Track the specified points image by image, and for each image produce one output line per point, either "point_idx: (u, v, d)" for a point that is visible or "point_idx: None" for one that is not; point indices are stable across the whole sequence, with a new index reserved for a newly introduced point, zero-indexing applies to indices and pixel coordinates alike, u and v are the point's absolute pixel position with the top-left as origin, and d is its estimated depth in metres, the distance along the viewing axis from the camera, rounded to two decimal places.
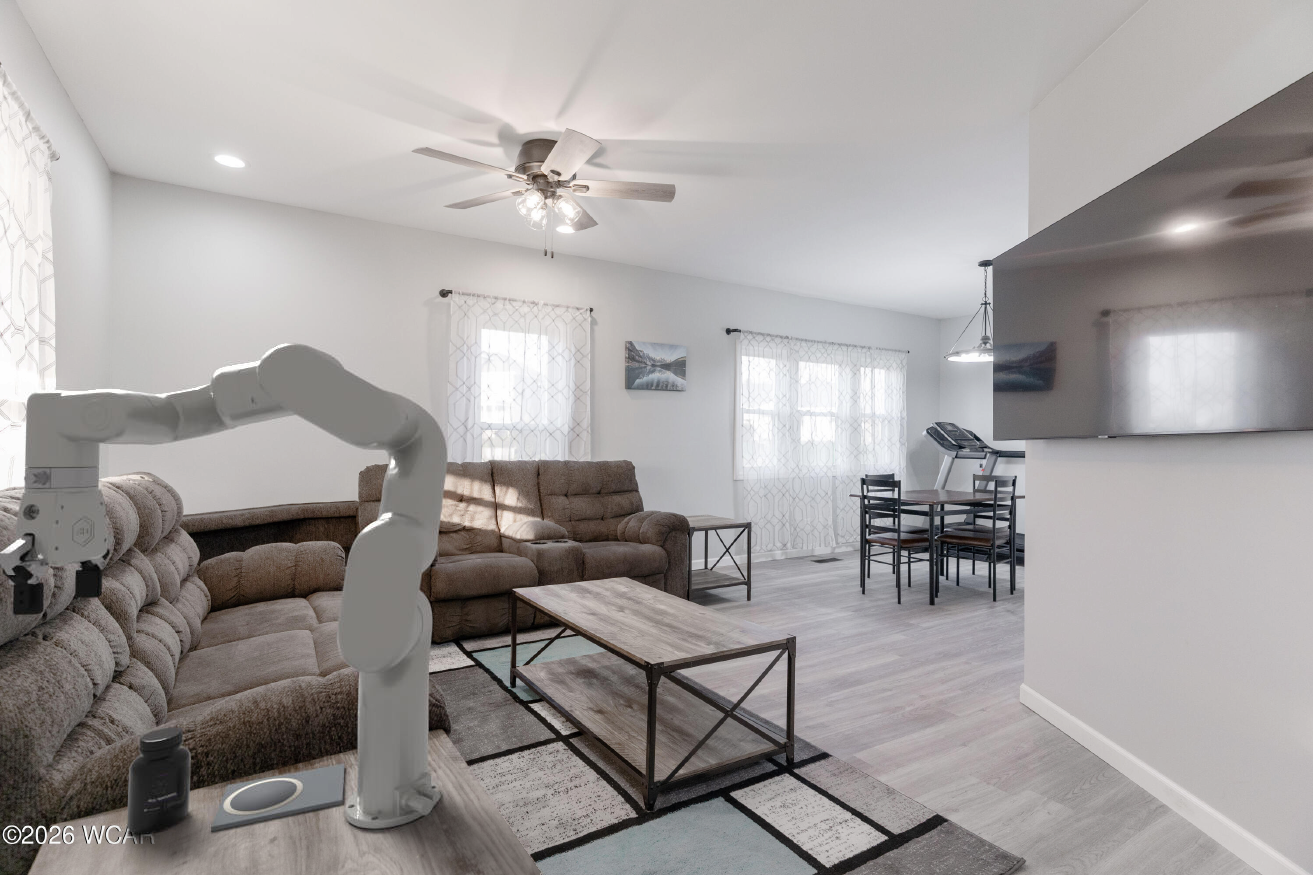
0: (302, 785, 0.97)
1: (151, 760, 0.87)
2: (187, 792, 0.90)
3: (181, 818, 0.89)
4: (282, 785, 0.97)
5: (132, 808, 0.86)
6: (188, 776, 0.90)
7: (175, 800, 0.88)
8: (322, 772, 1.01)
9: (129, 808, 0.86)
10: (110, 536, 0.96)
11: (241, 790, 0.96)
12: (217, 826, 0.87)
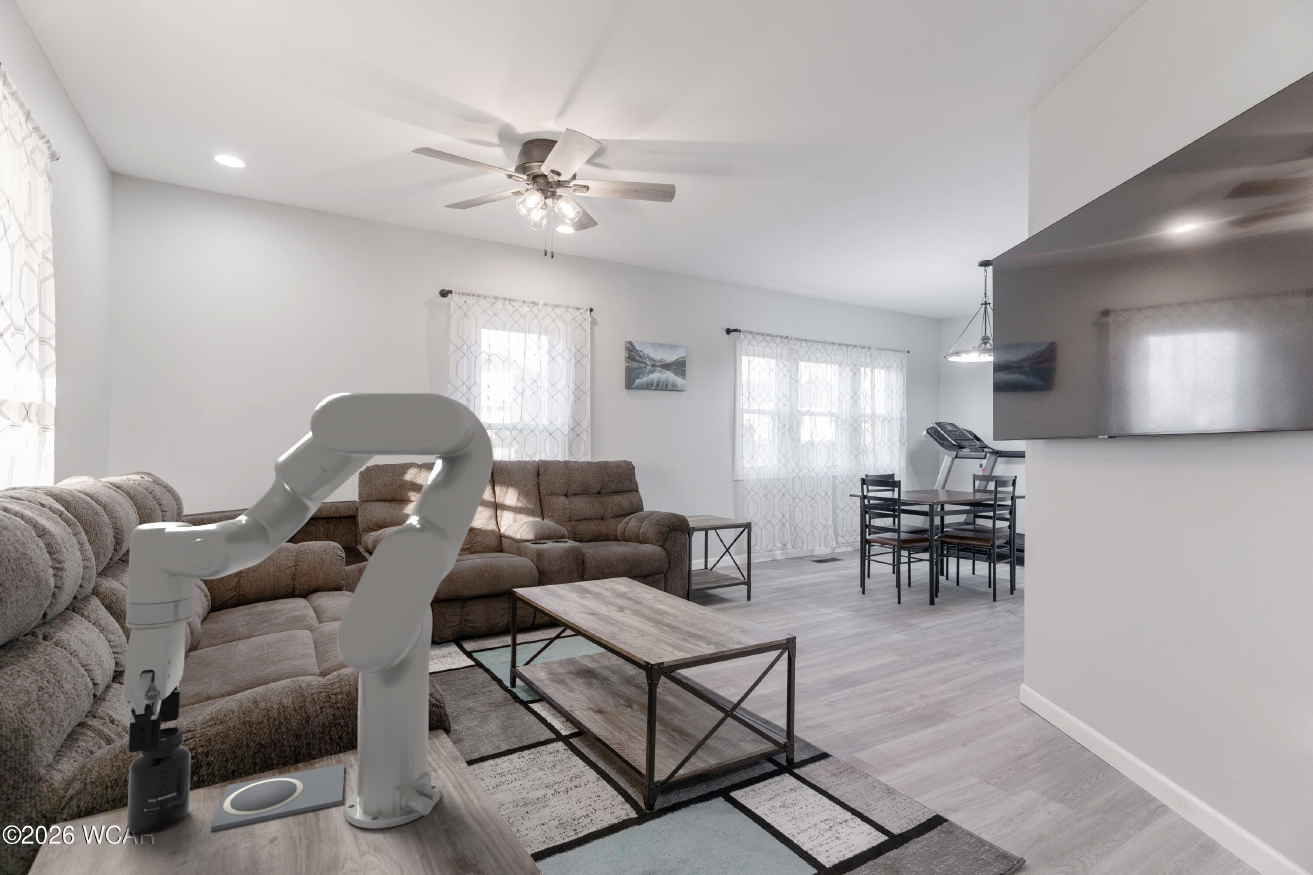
0: (302, 785, 0.97)
1: (151, 760, 0.87)
2: (187, 792, 0.90)
3: (181, 818, 0.89)
4: (282, 785, 0.97)
5: (132, 808, 0.86)
6: (188, 776, 0.90)
7: (175, 800, 0.88)
8: (322, 772, 1.01)
9: (129, 808, 0.86)
10: (134, 694, 0.82)
11: (241, 790, 0.96)
12: (217, 826, 0.87)
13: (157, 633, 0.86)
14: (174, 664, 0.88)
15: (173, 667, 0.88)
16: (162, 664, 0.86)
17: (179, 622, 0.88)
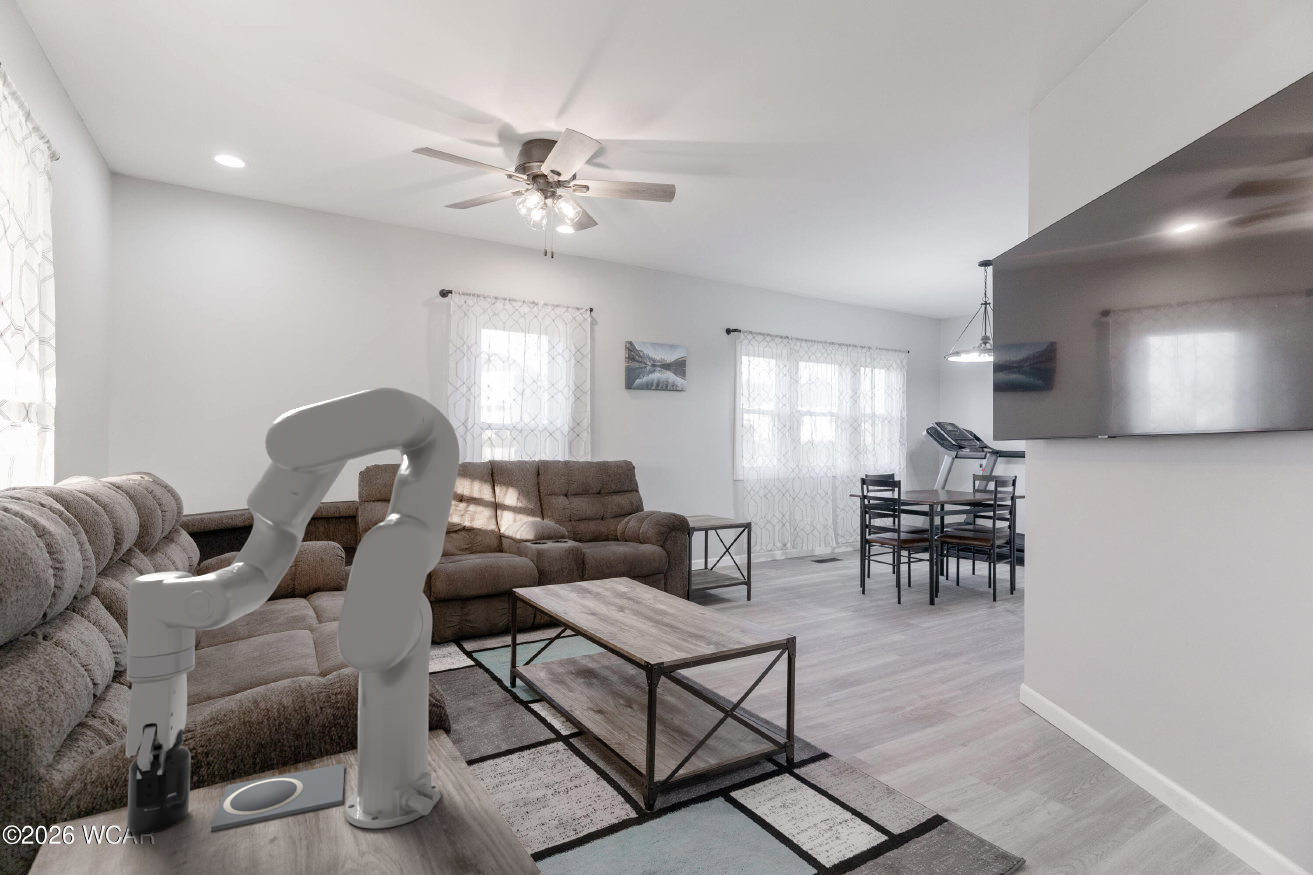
0: (302, 785, 0.97)
1: None
2: (187, 792, 0.90)
3: (181, 818, 0.89)
4: (282, 785, 0.97)
5: (132, 808, 0.86)
6: (188, 776, 0.90)
7: (175, 800, 0.88)
8: (322, 772, 1.01)
9: (129, 808, 0.86)
10: None
11: (241, 790, 0.96)
12: (217, 826, 0.87)
13: (158, 686, 0.86)
14: (176, 715, 0.88)
15: (175, 718, 0.88)
16: (164, 717, 0.86)
17: (180, 673, 0.88)
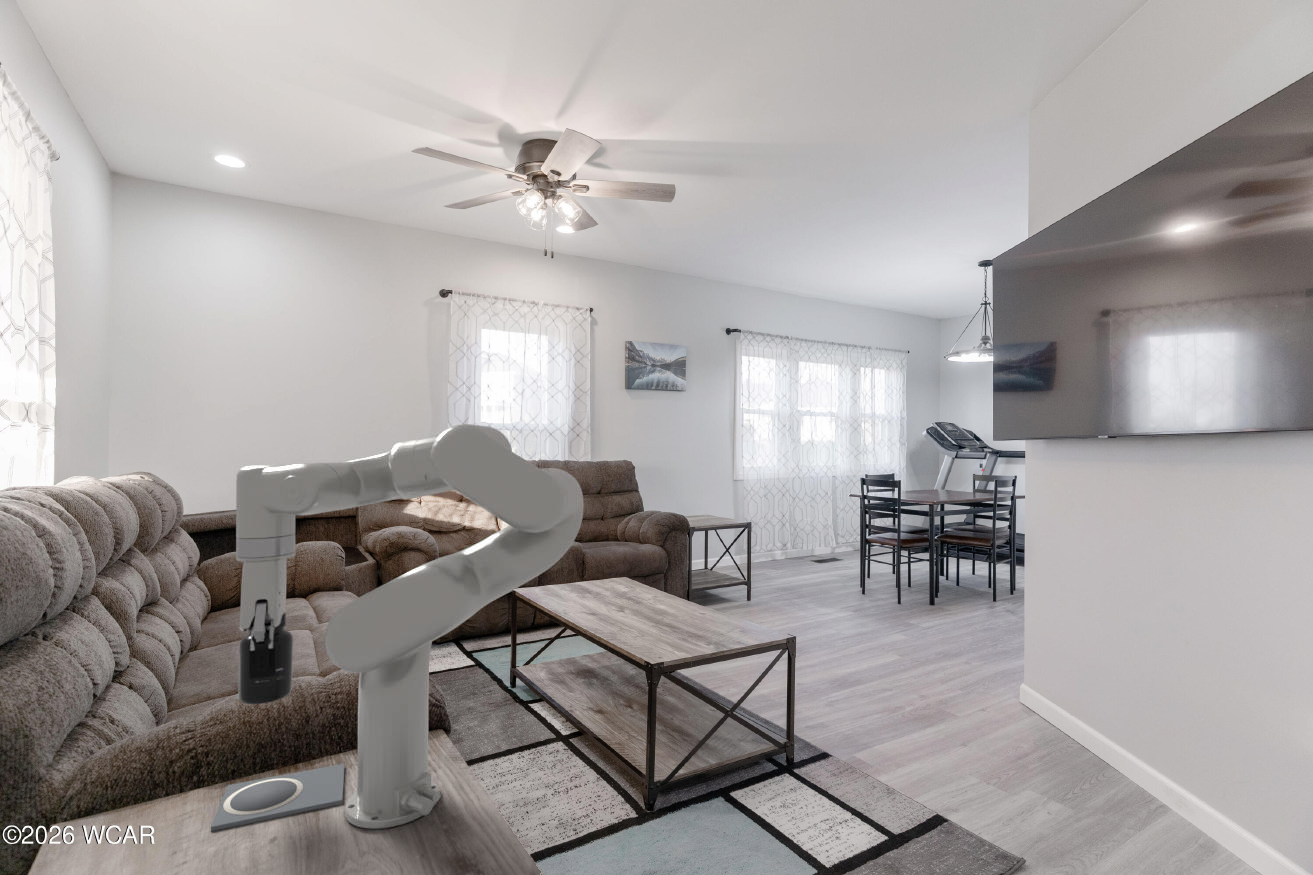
0: (302, 785, 0.97)
1: None
2: (291, 670, 0.95)
3: (287, 693, 0.94)
4: (282, 785, 0.97)
5: (244, 680, 0.91)
6: (292, 655, 0.96)
7: (282, 675, 0.93)
8: (322, 772, 1.01)
9: (241, 681, 0.92)
10: (254, 626, 0.88)
11: (241, 790, 0.96)
12: (217, 826, 0.87)
13: (267, 565, 0.91)
14: (282, 596, 0.94)
15: (282, 598, 0.93)
16: (274, 594, 0.91)
17: (285, 556, 0.94)
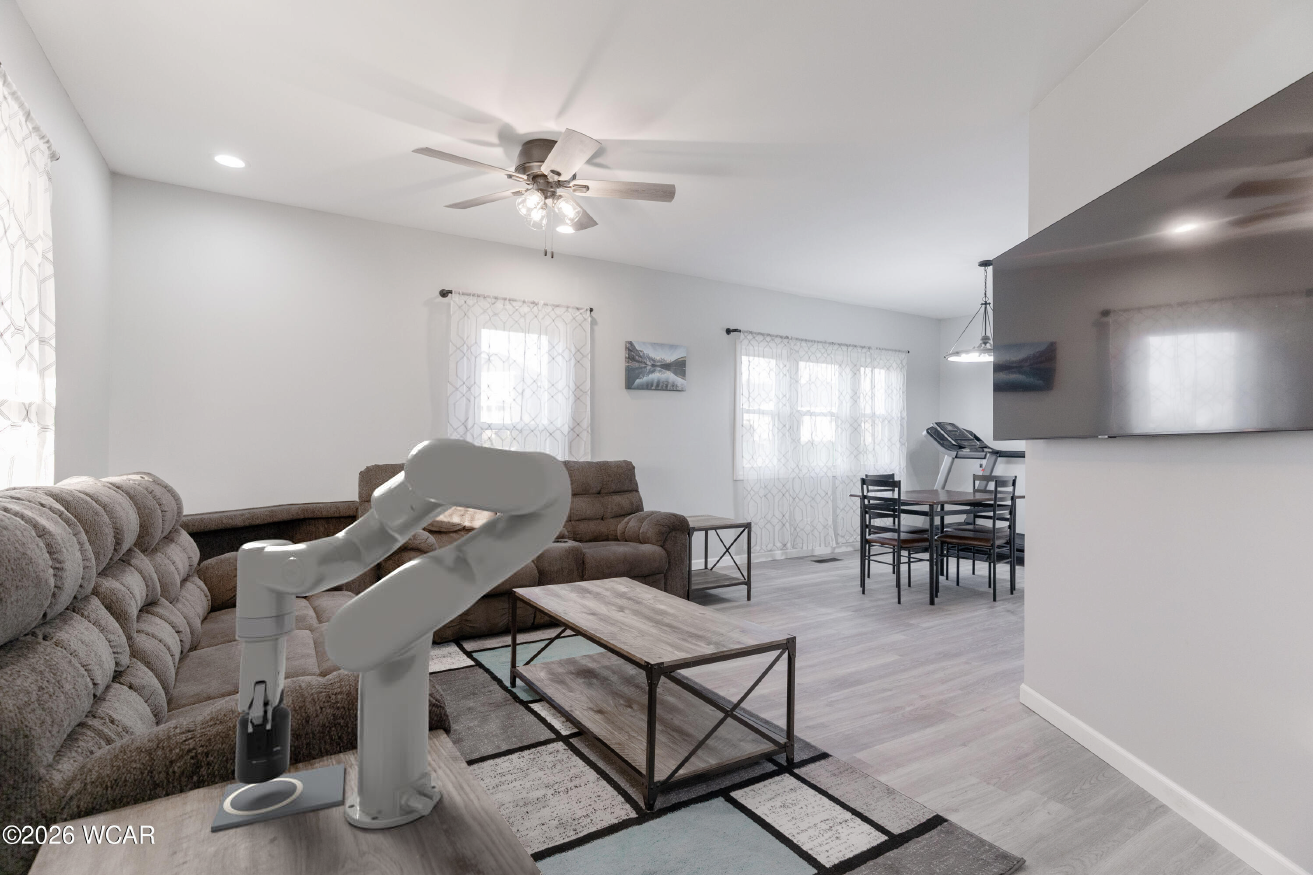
0: (302, 785, 0.97)
1: None
2: (288, 747, 0.95)
3: (284, 771, 0.94)
4: (282, 785, 0.97)
5: (241, 760, 0.91)
6: (289, 732, 0.95)
7: (279, 753, 0.93)
8: (322, 772, 1.01)
9: (238, 760, 0.91)
10: (252, 710, 0.88)
11: (241, 790, 0.96)
12: (217, 826, 0.87)
13: (267, 645, 0.91)
14: (281, 674, 0.93)
15: (281, 677, 0.93)
16: (272, 674, 0.91)
17: (285, 634, 0.94)
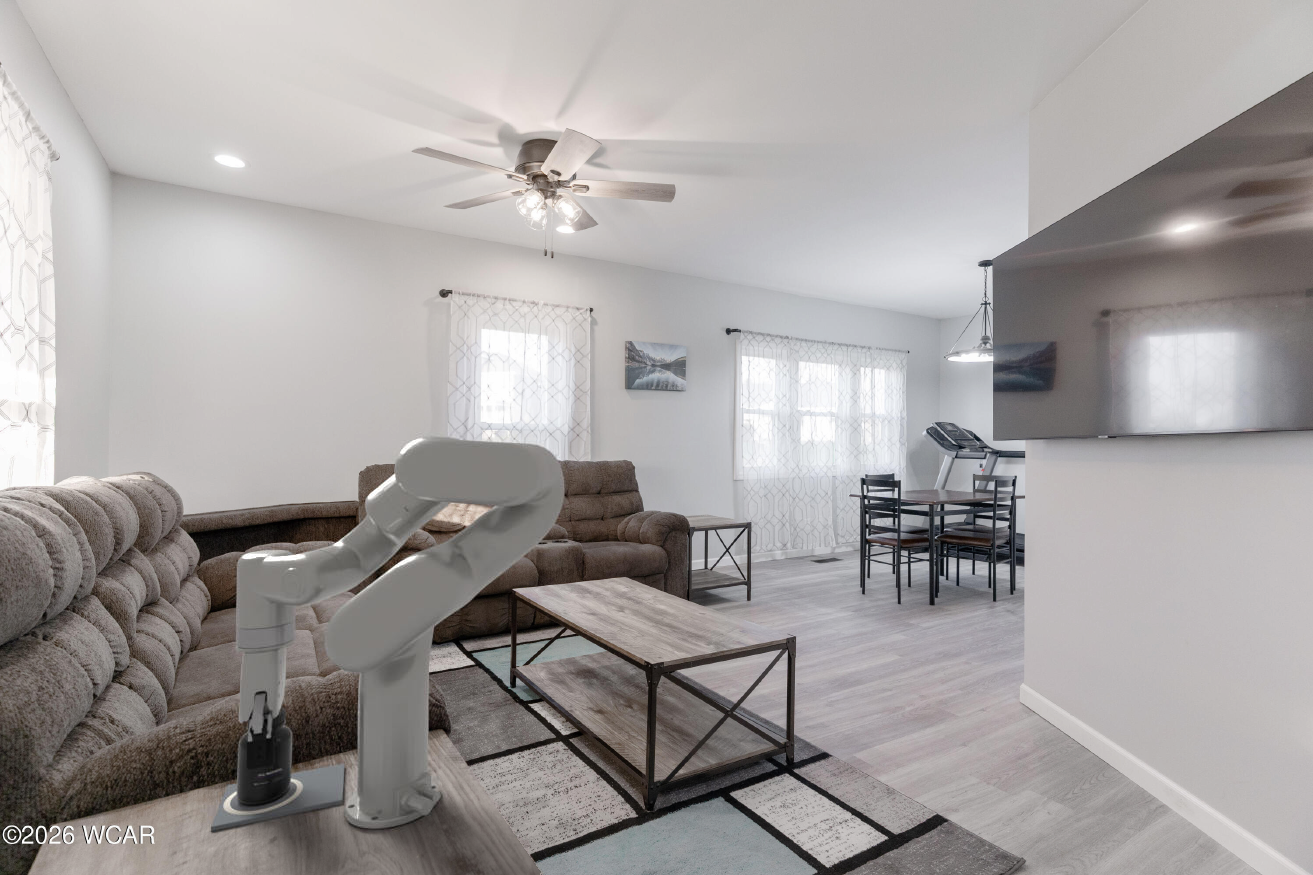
0: (302, 785, 0.97)
1: None
2: (290, 768, 0.95)
3: (285, 792, 0.94)
4: None
5: (243, 782, 0.91)
6: (291, 753, 0.95)
7: (281, 775, 0.93)
8: (322, 772, 1.01)
9: (239, 782, 0.91)
10: (252, 716, 0.87)
11: None
12: (217, 826, 0.87)
13: (267, 656, 0.91)
14: (282, 684, 0.93)
15: (281, 687, 0.93)
16: (273, 685, 0.91)
17: (285, 645, 0.94)
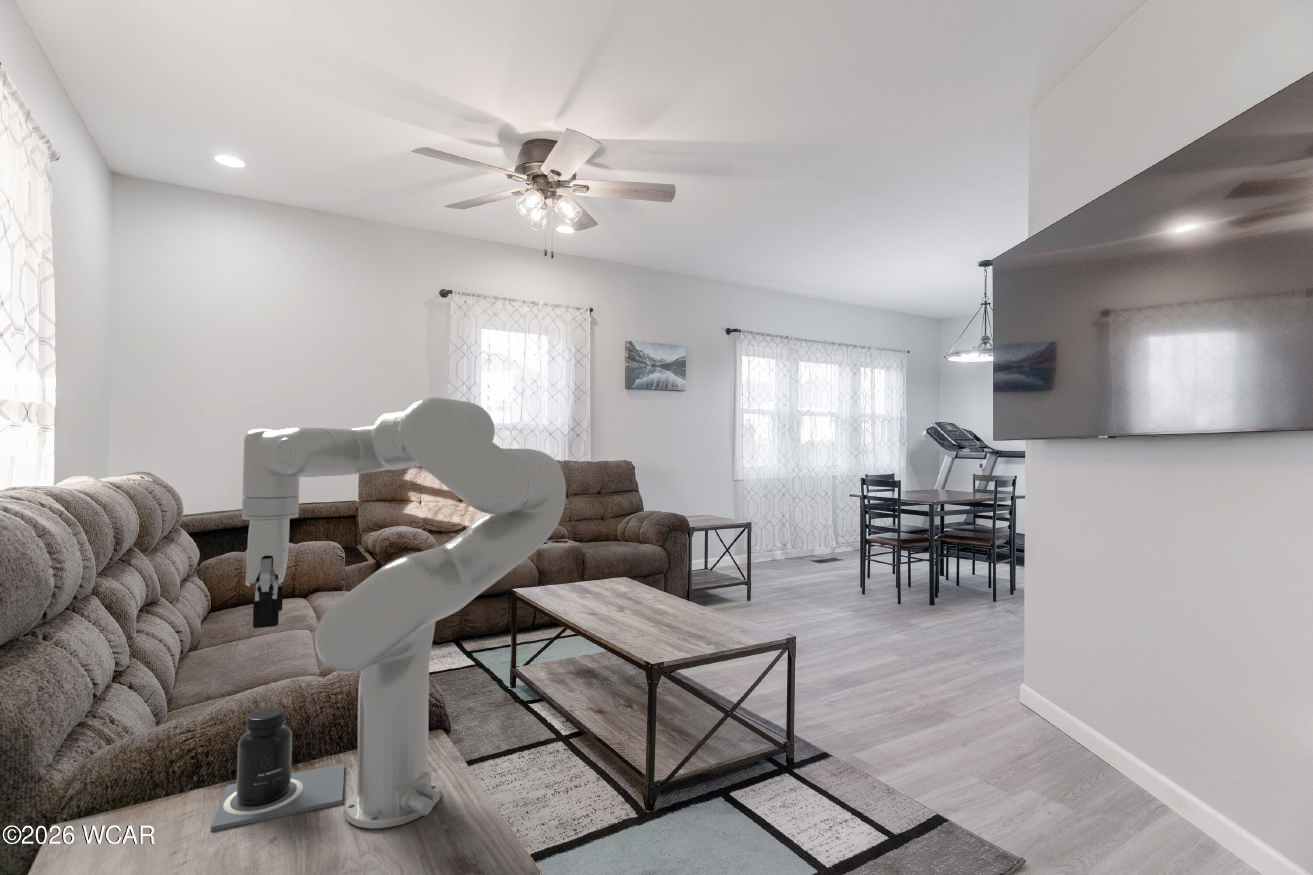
0: (302, 785, 0.97)
1: (259, 737, 0.92)
2: (290, 768, 0.95)
3: (285, 792, 0.94)
4: None
5: (243, 782, 0.91)
6: (290, 753, 0.95)
7: (281, 775, 0.93)
8: (322, 772, 1.01)
9: (239, 783, 0.91)
10: None
11: None
12: (217, 826, 0.87)
13: (273, 524, 0.96)
14: (286, 554, 0.98)
15: (286, 556, 0.98)
16: (279, 551, 0.96)
17: (290, 516, 0.98)
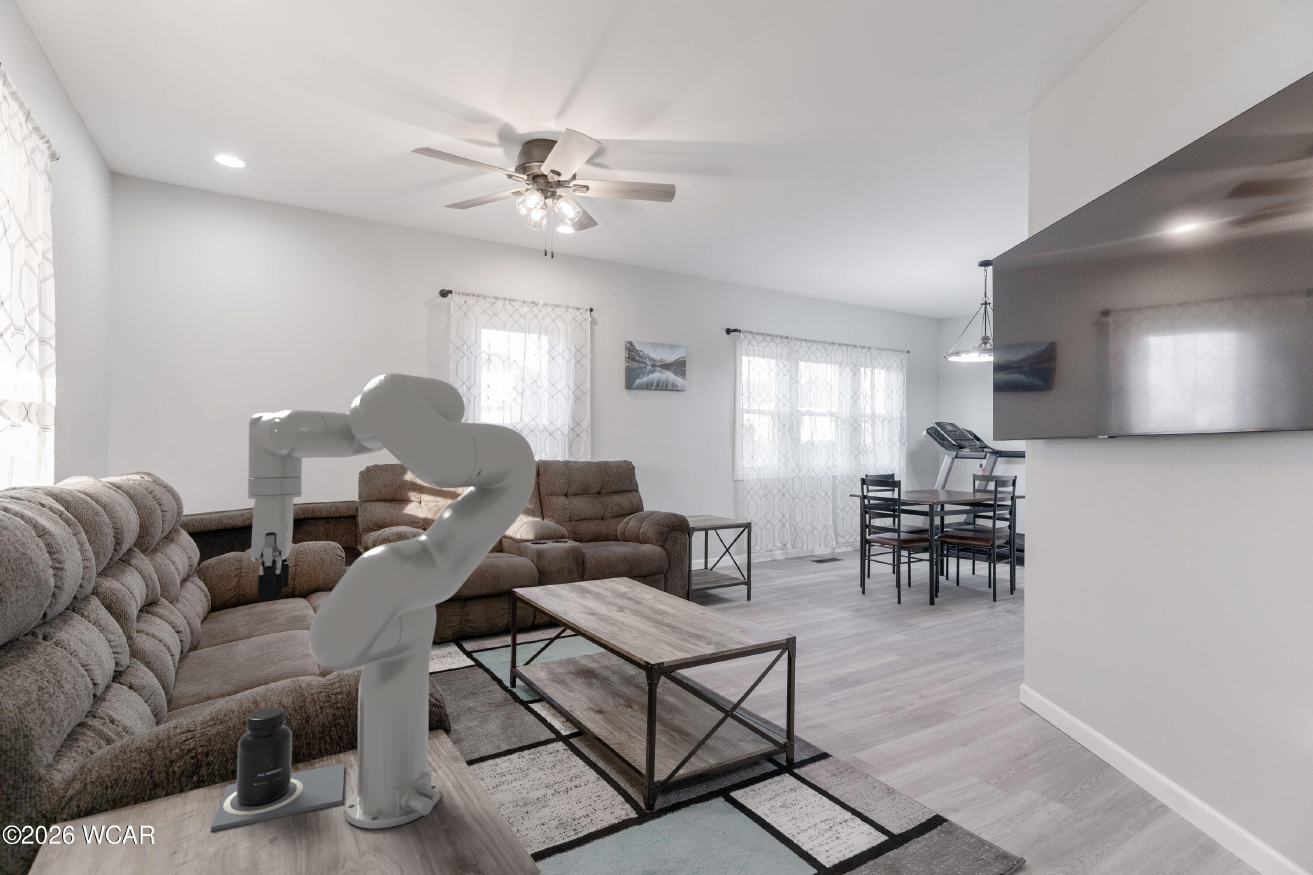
0: (302, 785, 0.97)
1: (259, 737, 0.92)
2: (290, 768, 0.95)
3: (285, 792, 0.94)
4: None
5: (243, 782, 0.91)
6: (290, 753, 0.95)
7: (281, 775, 0.93)
8: (322, 772, 1.01)
9: (239, 783, 0.91)
10: None
11: None
12: (217, 826, 0.87)
13: (276, 502, 1.01)
14: (289, 531, 1.03)
15: (289, 534, 1.03)
16: (282, 528, 1.01)
17: (292, 496, 1.03)
